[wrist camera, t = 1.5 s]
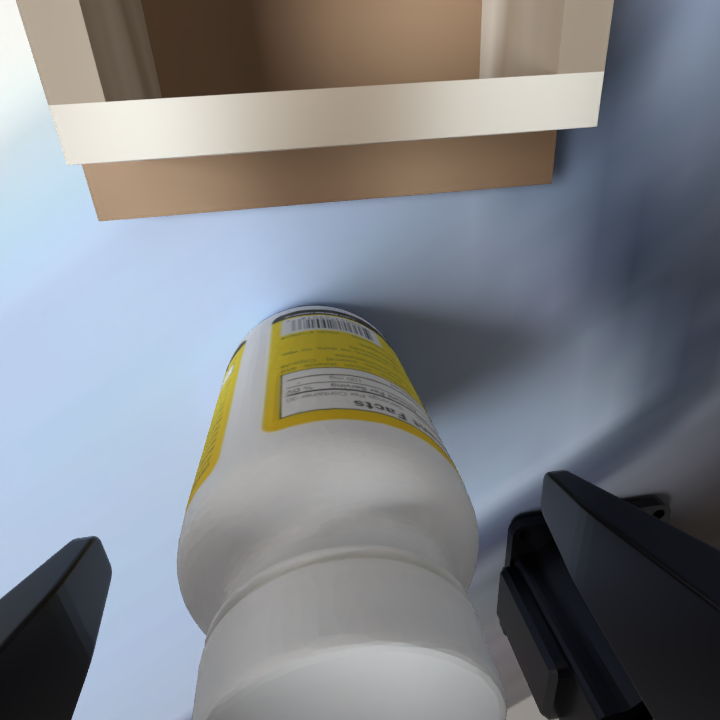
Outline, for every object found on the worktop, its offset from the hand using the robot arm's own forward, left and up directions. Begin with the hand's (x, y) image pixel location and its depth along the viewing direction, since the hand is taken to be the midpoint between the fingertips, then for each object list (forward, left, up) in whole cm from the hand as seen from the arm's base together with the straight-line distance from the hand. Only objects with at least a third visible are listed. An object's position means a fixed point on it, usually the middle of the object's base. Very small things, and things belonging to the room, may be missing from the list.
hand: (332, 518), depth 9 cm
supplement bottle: (0, 0, -6) cm, 6 cm away
